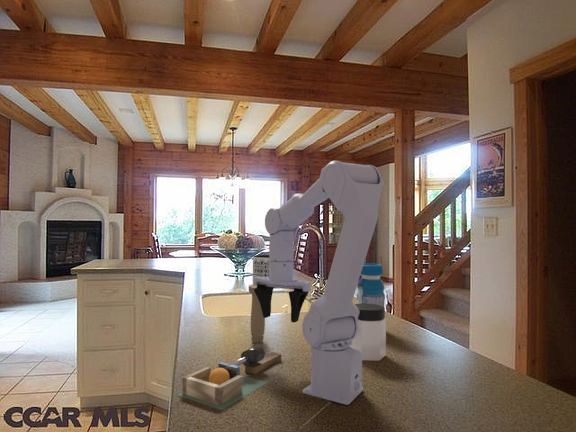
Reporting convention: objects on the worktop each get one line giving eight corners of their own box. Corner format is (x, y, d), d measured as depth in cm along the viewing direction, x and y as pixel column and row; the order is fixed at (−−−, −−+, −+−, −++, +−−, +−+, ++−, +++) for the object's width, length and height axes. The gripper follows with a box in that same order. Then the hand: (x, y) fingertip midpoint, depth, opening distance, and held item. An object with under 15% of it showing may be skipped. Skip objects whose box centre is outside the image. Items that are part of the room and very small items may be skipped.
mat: (267, 383, 80) (267, 382, 80) (222, 411, 68) (222, 410, 68) (225, 372, 85) (225, 370, 85) (176, 396, 73) (176, 394, 73)
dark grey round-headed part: (250, 364, 88) (250, 343, 88) (267, 369, 86) (267, 347, 86) (218, 381, 79) (218, 357, 79) (236, 386, 77) (236, 362, 77)
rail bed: (281, 360, 93) (281, 353, 93) (254, 375, 84) (254, 367, 84) (271, 358, 94) (272, 351, 94) (245, 372, 85) (245, 365, 85)
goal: (242, 392, 75) (242, 376, 75) (219, 405, 69) (219, 388, 69) (206, 381, 79) (206, 366, 79) (182, 393, 74) (182, 377, 74)
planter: (272, 286, 198) (272, 258, 199) (246, 283, 206) (246, 256, 207) (288, 282, 212) (288, 256, 212) (263, 280, 220) (263, 254, 220)
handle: (260, 337, 111) (261, 284, 111) (270, 343, 105) (271, 287, 106) (244, 339, 109) (245, 285, 109) (253, 346, 103) (254, 288, 103)
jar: (381, 350, 101) (382, 303, 102) (389, 361, 93) (390, 310, 93) (346, 349, 101) (347, 302, 102) (351, 360, 93) (352, 309, 94)
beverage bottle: (373, 336, 114) (374, 266, 114) (350, 329, 120) (351, 264, 120) (390, 331, 119) (390, 265, 120) (367, 325, 126) (368, 262, 126)
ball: (233, 367, 77) (220, 374, 73) (234, 387, 77) (220, 395, 73) (218, 362, 79) (204, 370, 75) (218, 382, 79) (204, 390, 75)
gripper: (316, 261, 92) (316, 319, 92) (264, 257, 99) (264, 311, 99) (302, 264, 86) (301, 326, 86) (248, 259, 93) (247, 317, 93)
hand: (280, 319), depth 92 cm, fingers open, 7 cm apart
